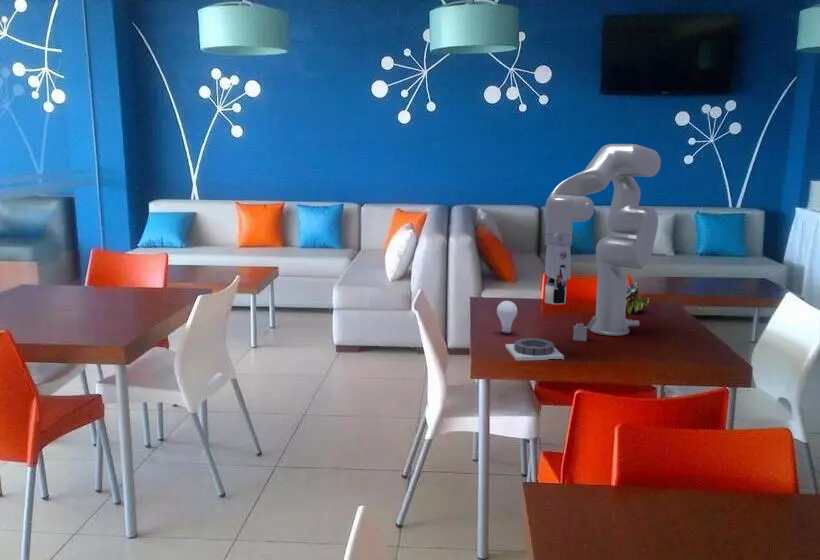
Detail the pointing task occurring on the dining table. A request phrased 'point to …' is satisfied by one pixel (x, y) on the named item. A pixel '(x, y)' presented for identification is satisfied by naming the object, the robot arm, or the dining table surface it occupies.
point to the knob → (551, 294)
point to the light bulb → (506, 315)
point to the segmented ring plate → (533, 350)
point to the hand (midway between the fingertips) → (555, 300)
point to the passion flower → (634, 299)
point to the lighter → (582, 330)
